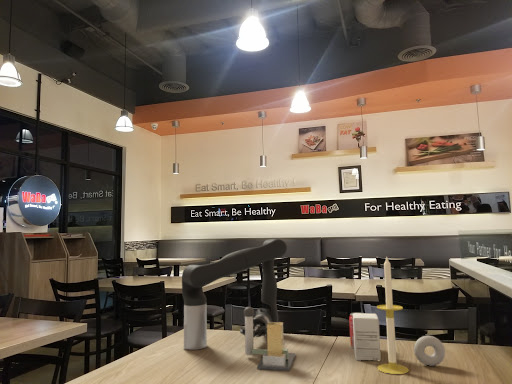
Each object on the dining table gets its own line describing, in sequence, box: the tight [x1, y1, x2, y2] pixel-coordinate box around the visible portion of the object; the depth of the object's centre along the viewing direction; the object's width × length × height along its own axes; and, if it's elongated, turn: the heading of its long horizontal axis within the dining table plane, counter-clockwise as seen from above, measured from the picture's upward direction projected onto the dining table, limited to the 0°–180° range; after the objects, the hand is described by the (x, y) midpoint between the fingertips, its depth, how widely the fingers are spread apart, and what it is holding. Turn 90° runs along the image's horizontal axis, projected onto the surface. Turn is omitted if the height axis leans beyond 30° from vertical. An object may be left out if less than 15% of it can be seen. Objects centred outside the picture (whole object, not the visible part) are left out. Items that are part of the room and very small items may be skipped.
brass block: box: [266, 321, 285, 354], centre depth 139 cm, size 4×5×13 cm
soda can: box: [348, 312, 354, 349], centre depth 157 cm, size 7×7×13 cm
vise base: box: [256, 352, 296, 372], centre depth 141 cm, size 16×11×4 cm, turn 167°
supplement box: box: [352, 312, 382, 362], centre depth 145 cm, size 9×9×15 cm
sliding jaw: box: [243, 306, 289, 360], centre depth 145 cm, size 6×17×17 cm, turn 77°
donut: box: [413, 335, 446, 367], centre depth 134 cm, size 10×4×10 cm, turn 80°
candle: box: [376, 257, 410, 375], centre depth 133 cm, size 10×10×38 cm
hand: (250, 335), depth 148 cm, fingers closed
